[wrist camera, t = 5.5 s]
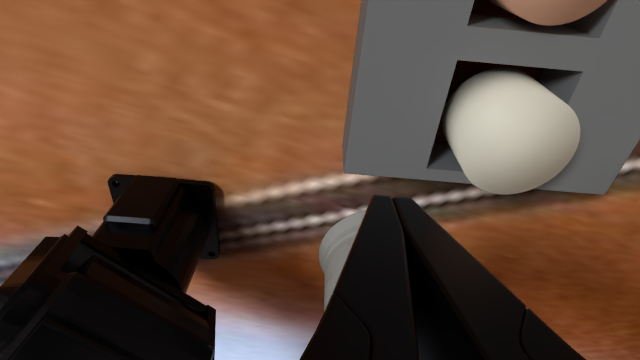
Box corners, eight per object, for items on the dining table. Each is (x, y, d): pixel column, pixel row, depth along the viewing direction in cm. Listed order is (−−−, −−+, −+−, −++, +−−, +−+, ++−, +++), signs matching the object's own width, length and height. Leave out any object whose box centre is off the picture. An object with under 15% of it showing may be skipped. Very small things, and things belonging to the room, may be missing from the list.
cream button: (520, 160, 20) (550, 198, 17) (431, 152, 20) (447, 190, 17) (559, 72, 18) (602, 100, 15) (457, 63, 17) (481, 89, 15)
